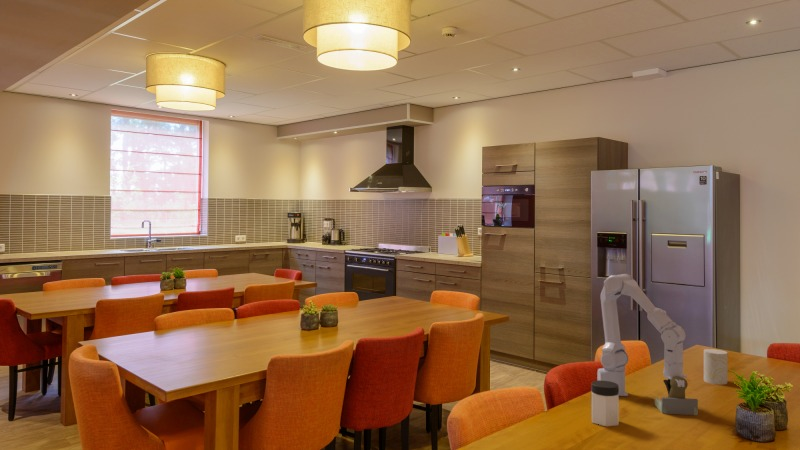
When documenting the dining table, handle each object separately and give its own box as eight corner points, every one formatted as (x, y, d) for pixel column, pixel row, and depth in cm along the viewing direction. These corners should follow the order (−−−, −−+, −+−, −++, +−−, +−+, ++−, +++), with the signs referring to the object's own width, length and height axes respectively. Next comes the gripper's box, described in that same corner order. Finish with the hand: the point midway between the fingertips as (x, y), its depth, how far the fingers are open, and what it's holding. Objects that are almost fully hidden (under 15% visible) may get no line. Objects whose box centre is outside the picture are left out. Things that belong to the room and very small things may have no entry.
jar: (599, 427, 168) (599, 388, 168) (585, 418, 176) (585, 381, 176) (625, 425, 170) (625, 386, 170) (609, 416, 178) (609, 379, 178)
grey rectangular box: (662, 413, 181) (662, 398, 181) (654, 405, 189) (654, 390, 189) (697, 415, 179) (697, 399, 179) (688, 406, 187) (688, 392, 187)
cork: (687, 413, 181) (692, 384, 178) (668, 411, 182) (672, 383, 179) (682, 402, 187) (686, 374, 183) (663, 400, 188) (667, 373, 184)
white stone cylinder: (705, 383, 214) (705, 352, 214) (702, 377, 222) (702, 348, 222) (729, 385, 211) (729, 354, 211) (725, 379, 219) (725, 350, 219)
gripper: (694, 368, 178) (694, 409, 178) (678, 357, 193) (678, 395, 193) (671, 367, 179) (671, 408, 180) (657, 356, 194) (657, 394, 194)
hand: (673, 401), depth 186 cm, fingers closed, pressing on cork
